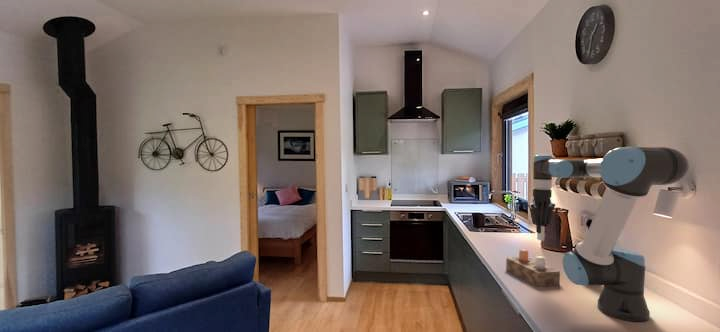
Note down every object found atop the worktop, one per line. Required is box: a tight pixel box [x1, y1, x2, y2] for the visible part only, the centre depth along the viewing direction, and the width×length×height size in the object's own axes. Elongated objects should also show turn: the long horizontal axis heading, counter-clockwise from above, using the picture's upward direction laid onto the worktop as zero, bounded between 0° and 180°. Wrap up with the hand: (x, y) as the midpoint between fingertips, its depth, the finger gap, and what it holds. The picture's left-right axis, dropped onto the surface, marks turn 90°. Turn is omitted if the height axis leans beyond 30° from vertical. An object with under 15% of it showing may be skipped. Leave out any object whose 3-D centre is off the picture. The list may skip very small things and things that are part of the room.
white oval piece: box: [535, 255, 546, 270], centre depth 153 cm, size 4×4×6 cm
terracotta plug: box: [518, 248, 529, 262], centre depth 164 cm, size 4×4×6 cm
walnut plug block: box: [505, 256, 561, 287], centre depth 159 cm, size 22×11×6 cm, turn 13°
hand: (540, 239), depth 153 cm, fingers closed
